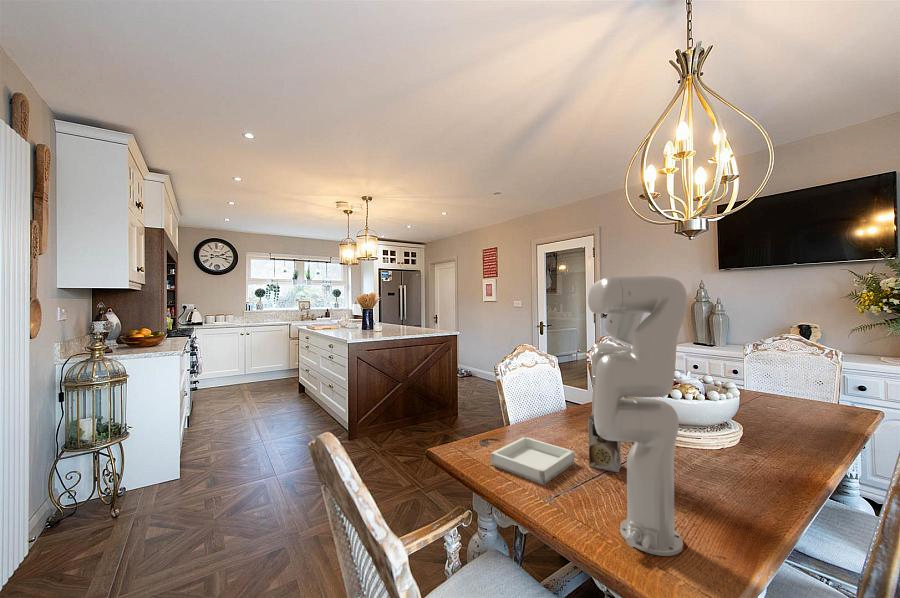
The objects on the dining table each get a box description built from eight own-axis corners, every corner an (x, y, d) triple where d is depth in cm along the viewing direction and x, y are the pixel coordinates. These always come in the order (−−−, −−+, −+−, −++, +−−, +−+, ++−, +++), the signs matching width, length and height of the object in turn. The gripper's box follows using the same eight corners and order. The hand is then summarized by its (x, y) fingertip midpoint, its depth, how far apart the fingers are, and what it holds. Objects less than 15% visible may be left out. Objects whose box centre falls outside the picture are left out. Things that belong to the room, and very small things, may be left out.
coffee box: (621, 465, 121) (620, 416, 121) (618, 473, 116) (618, 422, 116) (592, 459, 126) (591, 412, 126) (588, 466, 120) (587, 417, 121)
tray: (543, 485, 108) (542, 471, 109) (491, 465, 122) (490, 453, 122) (574, 463, 123) (574, 451, 123) (524, 447, 137) (524, 436, 137)
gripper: (605, 387, 112) (605, 443, 112) (625, 378, 125) (625, 428, 125) (581, 383, 118) (581, 436, 118) (602, 375, 130) (603, 423, 130)
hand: (604, 432), depth 121 cm, fingers open, 9 cm apart
